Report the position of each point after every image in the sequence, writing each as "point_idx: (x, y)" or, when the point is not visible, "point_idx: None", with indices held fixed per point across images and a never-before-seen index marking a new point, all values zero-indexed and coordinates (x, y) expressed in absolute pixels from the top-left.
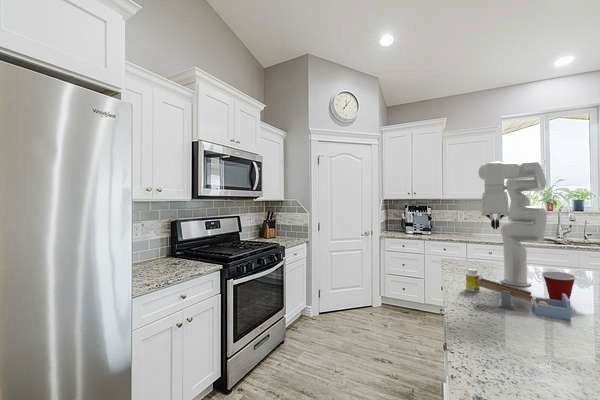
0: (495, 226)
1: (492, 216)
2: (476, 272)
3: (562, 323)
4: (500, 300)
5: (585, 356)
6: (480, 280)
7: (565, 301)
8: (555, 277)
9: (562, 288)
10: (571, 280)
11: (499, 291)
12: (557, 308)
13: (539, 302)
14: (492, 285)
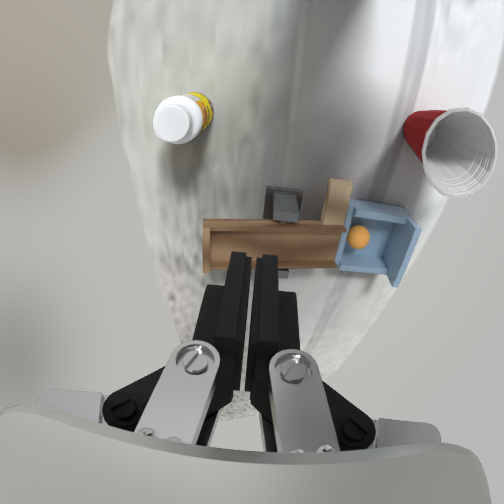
0: (249, 334)
1: (204, 442)
2: (188, 133)
3: (363, 279)
4: (268, 203)
5: (335, 363)
6: (209, 271)
7: (395, 271)
8: (458, 112)
9: (440, 173)
10: (472, 185)
11: None
12: (372, 272)
13: (352, 243)
14: None
